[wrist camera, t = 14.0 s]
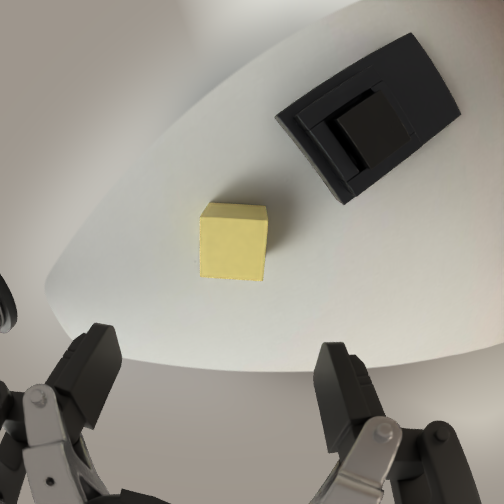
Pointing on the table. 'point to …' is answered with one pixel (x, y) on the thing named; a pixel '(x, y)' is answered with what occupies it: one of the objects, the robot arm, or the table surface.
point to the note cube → (233, 241)
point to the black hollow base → (354, 88)
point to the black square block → (370, 129)
